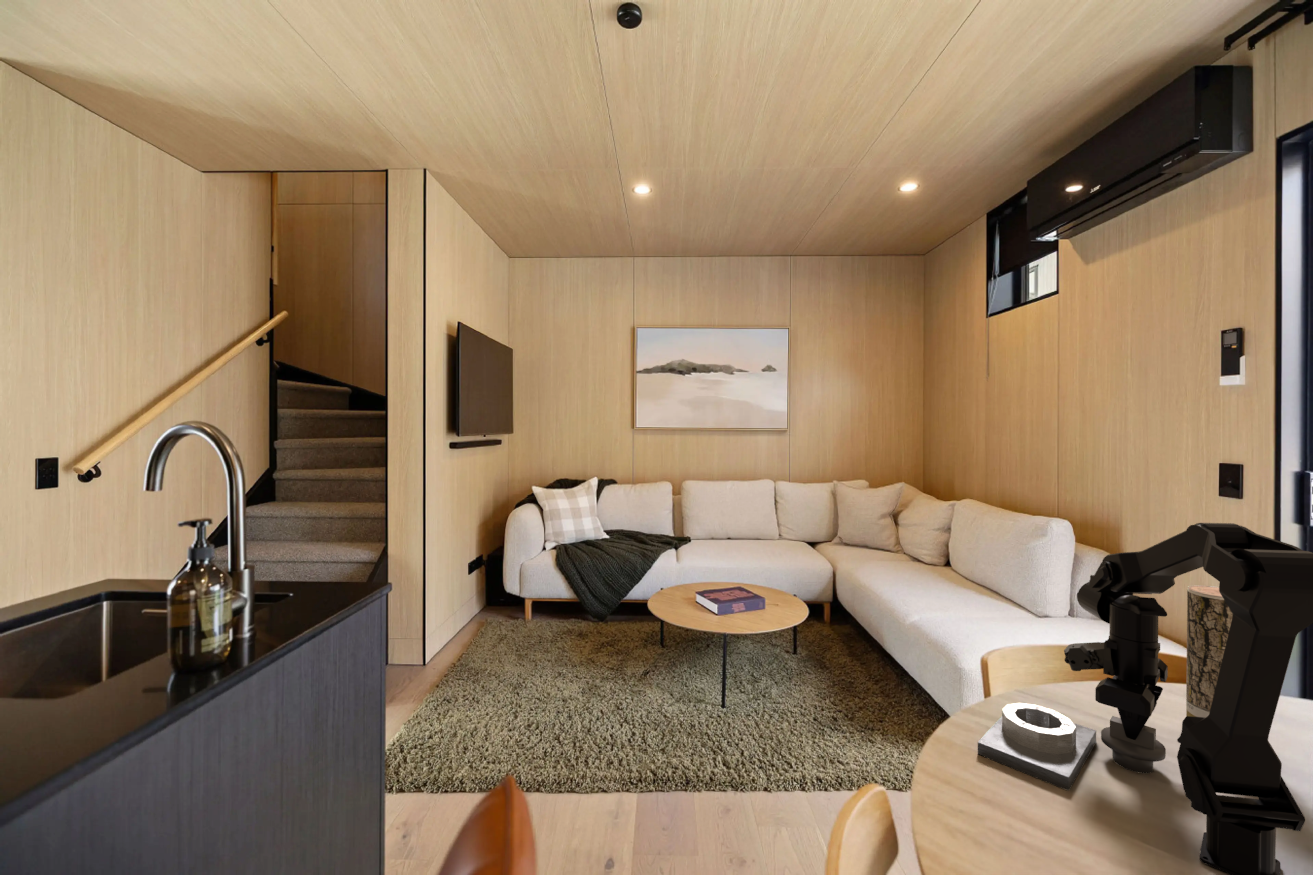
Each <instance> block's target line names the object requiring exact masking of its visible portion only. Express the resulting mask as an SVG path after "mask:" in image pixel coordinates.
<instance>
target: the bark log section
mask: <svg viewBox="0 0 1313 875" xmlns="http://www.w3.org/2000/svg"><path fill="white" fill-rule="evenodd" d="M1186 590H1187V591H1186V592H1187V595H1186V596H1187V597H1186V603H1187V604H1186V678H1185V679H1186V682H1185V683H1186V690H1185V691H1186V692H1185V693H1186V694H1185V695H1186V696H1185V697H1186V698H1185V701H1186V702H1185V703H1186V704H1185V706H1186V708H1185V709H1186V714H1185V717H1186V716H1192V717H1205V718H1206V717H1207V716H1208V715H1209V713H1210V709H1211V705H1212V701H1213V696H1214V692H1215V688H1216V684H1217V680H1218V676H1219V671H1220V667H1221V663H1222V659H1223V655H1224V651H1225V646H1226V642H1227V638H1228V634H1229V630H1230V626H1231V621H1232V615H1233V614H1232V612H1231V610H1230V608H1229V607H1228V605H1227V603H1226V602H1225V600H1224V598H1223V597H1222V595H1221V594H1220V592H1219V586H1213V585H1212V586H1211V585H1200V584H1199V585H1198V584H1195V585H1188V586H1187V589H1186Z"/></svg>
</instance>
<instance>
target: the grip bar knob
mask: <svg viewBox="0 0 1313 875" xmlns="http://www.w3.org/2000/svg"><path fill="white" fill-rule="evenodd" d="M1100 735H1101V736H1100V739H1101V742H1102V743H1103V744H1104V745H1105V746H1106V747H1107V748H1109V749H1111V751H1112V754H1111V755H1112V761H1113V762H1114V763H1115V764H1116V765H1118V766H1120V767H1122V768H1123V769H1125V770H1128V771H1131V772H1133V773H1138V772H1139V774H1151V773H1152V772H1154V763H1155V762H1161V761H1164V760H1165V759H1166V756H1167V753H1166V752H1167V751H1166V747H1165V745H1164V744H1163V743H1162V742H1161V741H1159V740H1158V739H1157V729H1156V728H1155V727H1151V726H1147V725H1146V724H1145V725H1144V727H1143V728H1142V730H1141V732H1140V733H1139V735H1138V737H1137V738H1136V740H1133V739H1130V738H1127V737H1126V734H1125V731H1124V728H1123V725H1122V721H1121V718H1120V716H1119V717H1118V716H1115V715H1112V716H1111V717H1110V720H1109V726H1108V727H1104V728H1102V729H1101V732H1100ZM1150 772H1151V773H1150Z"/></svg>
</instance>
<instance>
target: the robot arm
mask: <svg viewBox="0 0 1313 875" xmlns="http://www.w3.org/2000/svg"><path fill="white" fill-rule="evenodd" d="M1201 568H1203V571H1205V573H1207V574H1208V575H1209V576H1211V577H1212V578H1214V579H1215V580H1216V581H1218V582H1219V583H1218V585H1219V586H1218V587H1219V592H1220V594H1221V595H1222V597H1223V598H1224V600H1225V602H1226V603H1227V605H1228V607H1229V608H1230V610H1231V612H1232V614H1233V615H1232V621H1231V626H1230V630H1229V634H1228V638H1227V642H1226V646H1225V651H1224V655H1223V659H1222V663H1221V667H1220V671H1219V676H1218V680H1217V684H1216V688H1215V692H1214V696H1213V701H1212V705H1211V709H1210V713H1209V715H1208V716H1207V717H1206V718H1205V717H1192V716H1186V715H1185V717H1184V719H1183V720H1182V722H1181V732H1180V735H1179V737H1177V739H1176V742H1178V744H1179V747H1178V750H1177V755H1176V758H1177V763H1178V769H1179V773H1180V778H1181V782H1182V786H1183V791H1184V794H1185V797H1186V798H1187V799H1188V800H1189V801H1190V807H1191V808H1192V809H1193V810H1194V811H1197V812H1198V813H1201V814H1203V815H1205V816H1206V822H1205V823H1206V827H1205V831H1204V832H1203V834H1202V840H1201V846H1200V851H1199V852H1200V853H1199V855H1198V856H1199V861H1200V862H1201V863H1203V864H1205V865H1207V866H1208V867H1209V866H1210V867H1212V868H1215V869H1217V870H1219V871H1222V872H1224V873H1226V874H1229V875H1281V861H1280V860H1278V859H1277V858H1276V847H1277V846H1276V845H1277V844H1276V842H1277V841H1276V838H1277V836H1276V835H1277V829H1284V830H1292V831H1293V832H1294V831H1295V832H1301V831H1302V828H1303V826H1304V825H1305V823H1306V818H1305V816H1304V814H1303V812H1302V810H1301V808H1300V807H1299V805H1298V804H1297V801H1296V800H1295V798H1294V797H1293V794H1292V793H1291V791H1290V789H1289V787H1288V786H1287V784H1286V781H1285V780H1284V779H1283V777H1282V769H1283V768H1282V765H1283V764H1282V763H1283V762H1282V761H1281V759H1280V758H1279V756H1278V755H1277V753H1276V751H1275V750H1274V747H1273V746H1272V745H1271V743H1270V742H1269V738H1270V737H1269V736H1270V733H1271V730H1272V729H1271V728H1272V725H1273V721H1274V718H1275V716H1276V715H1275V714H1276V711H1277V707H1278V704H1279V699H1280V697H1281V692H1282V689H1283V686H1284V683H1285V682H1284V681H1285V678H1286V676H1287V675H1286V674H1287V670H1288V668H1289V664H1290V660H1291V656H1292V654H1293V650H1294V646H1295V643H1296V638H1297V635H1298V634H1299V633H1300V632H1302V631H1304V630H1306V628H1308V627H1310V626H1312V624H1313V552H1312V551H1308V550H1303V549H1302V548H1300V547H1298V546H1295V545H1293V544H1290V543H1287V542H1283V541H1280V540H1277V539H1274V538H1272V537H1268V536H1264V535H1262V534H1259V533H1256V532H1254V531H1252V530H1251V529H1249V528H1247V527H1246V526H1243V525H1240V524H1236V523H1231V522H1230V523H1229V522H1228V523H1227V522H1226V523H1225V522H1196V523H1195V524H1190V525H1189V526H1188V527H1187V528H1186V530H1184V531H1182V532H1179V533H1177V534H1176V535H1173V536H1171V537H1169V538H1167V539H1165V540H1163V541H1160V542H1158V543H1155V544H1154V545H1152V546H1150V547H1147V548H1146V549H1142V550H1141V551H1128V552H1117V553H1111V554H1107V555H1105V556H1104V557H1103V559H1102V562H1100V564H1099V566H1098V568H1097V570H1096V571H1095V573H1094V575H1093V574H1091V575H1090V576H1089V580H1088V582H1085V583H1084V584H1083V585H1081V586H1080V588H1079V590H1078V592H1077V594H1076V599H1077V603H1078V605H1079V606H1080V607H1081V608H1082V609H1083V610H1084V611H1086V612H1088V613H1089V614H1091V615H1092V616H1094V617H1096V618H1098V619H1099V620H1101V621H1103V622H1104V623H1107V624H1108V625H1109V633H1108V634H1109V635H1108V639H1107V640H1105V641H1104V642H1102V641H1101V642H1099V641H1096V642H1077V643H1071V644H1068V645H1067V647H1065V649H1064V650H1063V652H1064V656H1065V657H1064V662H1065V663H1066V664H1068V665H1069V666H1070V667H1069V668H1070V670H1071V671H1073V672H1081V671H1082V670H1083V671H1084V670H1085V671H1086V670H1103V674H1104V675H1107V677H1106V678H1104V679H1102V680H1100V681H1099V682H1098V684H1097V685H1096V687H1095V690H1094V691H1095V692H1094V693H1095V701H1096V702H1097V703H1099V704H1102V705H1105V706H1109V707H1112V708H1116V709H1117V711H1118V715H1119V718H1121V721H1122V725H1123V728H1124V731H1125V734H1126V737H1127V738H1130V739H1133V740H1136V738H1137V737H1138V735H1139V733H1140V732H1141V730H1142V728H1143V727H1144V725H1145V726H1146V724H1147V722H1148V720H1149V718H1150V717H1151V716H1152V715H1153V712H1154V711H1155V709H1156V706H1157V704H1158V700H1159V698H1160V696H1161V694H1162V692H1163V690H1164V688H1163V687H1161V686H1160V685H1157V683H1158V681H1159V680H1160V682H1163V683H1166V682H1167V679H1168V677H1169V676H1168V674H1169V672H1168V669H1169V668H1168V665H1167V664H1166V663H1165V662H1164V660H1162V659H1161V658H1159V652H1161V642H1159V617H1162V618H1163V617H1167V616H1168V613H1167V611H1166V609H1165V608H1164V607H1163V606H1162V605H1160V604H1159V603H1158V601H1157V599H1156V598H1155V597H1143V596H1138V595H1137V594H1140V595H1152V594H1153V595H1155V594H1158V595H1161V594H1163V593H1165V592H1166V591H1168V590H1169V589H1171V588H1172V587H1174V585H1175V584H1176V581H1175V579H1176V578H1177V577H1179V576H1182V575H1184V574H1186V573H1187V574H1188V573H1190V572H1193V571H1195V570H1198V569H1201ZM1134 594H1136V595H1134ZM1108 676H1111V677H1108ZM1221 794H1223V795H1221ZM1224 794H1226V795H1224ZM1232 795H1233V796H1232ZM1234 795H1235V796H1234ZM1236 795H1237V796H1236ZM1239 796H1240V797H1239ZM1241 796H1246V797H1241ZM1249 797H1250V798H1249ZM1252 797H1255V798H1252Z"/></svg>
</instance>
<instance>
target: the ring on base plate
mask: <svg viewBox="0 0 1313 875" xmlns="http://www.w3.org/2000/svg"><path fill="white" fill-rule="evenodd" d="M1095 744H1097V730H1096V729H1093V728H1090V727H1087V726H1085V725H1081V724H1078V723H1074V722H1073V721H1072V719H1071V718H1069V717H1067V716H1065V714H1062V713H1060V712H1058V711H1057V710H1054V709H1052V708H1048V707H1045V706H1043V705H1038V704H1032V703H1026V702H1025V703H1024V702H1016V703H1015V702H1014V703H1007V704H1006V705H1005V706H1004V707H1003V708H1002V709H1001V716H1000V717H999V719H997V721H996V722H995V723H994V724H993V725H992V726H991V727H990V728H989V729H988V730H987V731H986V732H985V733H984V735H983V736H982V737H981V738H980V739H979V740H978V741H977V755H978V754H980V755H979V756H981V755H983V756H984V758H986V757H987V758H986V759H989V760H990V761H994V762H996V763H998V764H1001V765H1002V766H1005V767H1008V768H1010V769H1013V770H1015V771H1018V772H1020V773H1022V774H1025V775H1028V776H1031V777H1033V778H1036V779H1038V780H1040V781H1043V782H1045V783H1047V784H1051V785H1053V786H1056V787H1058V788H1059V789H1063V790H1066V791H1070V790H1071V788H1072V786H1073V784H1074V782H1075V780H1076V779H1077V778H1078V775H1079V773H1080V772H1081V770H1082V769H1083V767H1084V764H1085V763H1086V761H1087V759H1088V757H1089V755H1090V754H1091V752H1092V750H1093V749H1094V747H1095ZM983 756H982V757H983Z"/></svg>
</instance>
